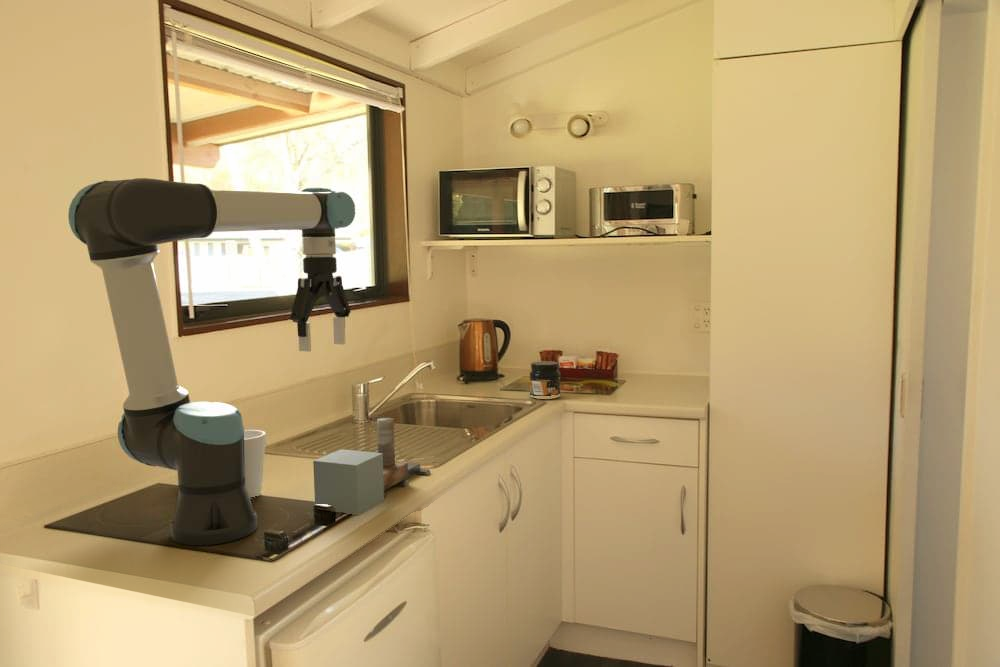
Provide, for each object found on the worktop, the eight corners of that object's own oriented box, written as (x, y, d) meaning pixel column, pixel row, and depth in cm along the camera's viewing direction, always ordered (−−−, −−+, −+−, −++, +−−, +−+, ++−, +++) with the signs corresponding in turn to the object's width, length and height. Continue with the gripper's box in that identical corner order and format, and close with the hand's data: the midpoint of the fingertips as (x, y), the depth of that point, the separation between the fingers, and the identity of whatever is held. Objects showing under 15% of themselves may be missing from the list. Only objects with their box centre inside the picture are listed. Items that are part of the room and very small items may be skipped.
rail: (380, 500, 167) (380, 490, 167) (347, 495, 170) (347, 486, 170) (429, 472, 187) (429, 464, 187) (399, 469, 190) (399, 461, 190)
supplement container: (533, 401, 272) (533, 365, 270) (526, 395, 282) (526, 361, 281) (564, 399, 274) (563, 364, 272) (556, 394, 284) (555, 360, 283)
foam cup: (245, 486, 179) (242, 428, 177) (277, 491, 174) (275, 432, 173) (212, 498, 170) (209, 437, 169) (244, 504, 166) (241, 441, 165)
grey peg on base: (379, 494, 168) (377, 429, 166) (350, 491, 170) (348, 427, 169) (408, 479, 179) (406, 417, 177) (380, 476, 181) (378, 415, 180)
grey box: (344, 495, 171) (342, 448, 170) (385, 500, 167) (383, 452, 166) (315, 509, 162) (313, 460, 161) (357, 515, 158) (356, 465, 157)
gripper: (299, 256, 174) (303, 354, 177) (363, 255, 197) (365, 342, 199) (271, 257, 177) (275, 353, 180) (337, 255, 200) (340, 341, 202)
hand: (323, 347), depth 190 cm, fingers open, 13 cm apart
